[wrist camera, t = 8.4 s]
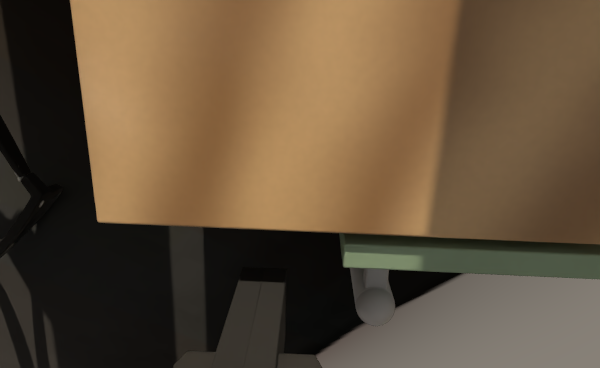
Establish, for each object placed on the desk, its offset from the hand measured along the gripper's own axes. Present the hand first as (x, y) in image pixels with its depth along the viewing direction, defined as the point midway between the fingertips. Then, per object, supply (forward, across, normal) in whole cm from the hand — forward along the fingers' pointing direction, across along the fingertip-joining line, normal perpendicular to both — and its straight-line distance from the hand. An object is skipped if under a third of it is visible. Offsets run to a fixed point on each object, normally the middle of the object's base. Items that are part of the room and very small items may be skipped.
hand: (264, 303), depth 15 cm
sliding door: (+10, +7, +1) cm, 12 cm away
